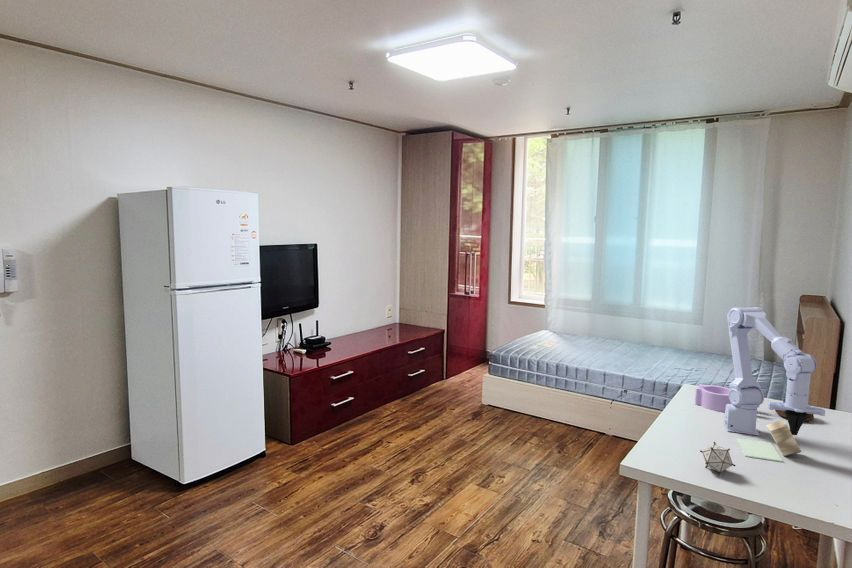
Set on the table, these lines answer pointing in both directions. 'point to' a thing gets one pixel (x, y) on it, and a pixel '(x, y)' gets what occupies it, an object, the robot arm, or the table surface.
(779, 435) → the maple block
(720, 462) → the game die
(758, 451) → the mat
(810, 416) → the cup and saucer
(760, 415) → the table surface
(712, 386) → the clip
